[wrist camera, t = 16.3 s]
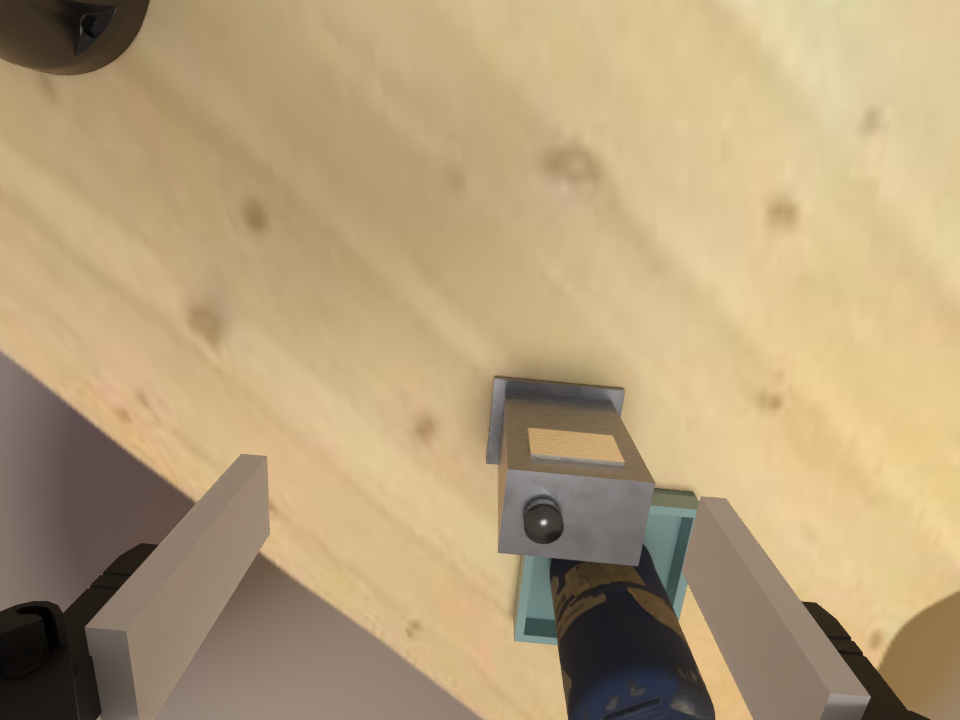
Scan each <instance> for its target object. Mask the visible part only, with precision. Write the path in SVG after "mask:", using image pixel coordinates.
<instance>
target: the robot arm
mask: <svg viewBox="0 0 960 720" xmlns="http://www.w3.org/2000/svg"><path fill="white" fill-rule="evenodd" d="M147 3H148V0H0V58H1V59H3V60H5V61H8V62H10V63H13V64H16V65H19V66H23V67H26V68H30V69H34V70H38V71H41V72H46V73H50V74H57V75H75V74H82V73H87V72H90V71H93V70H96V69H98V68H101V67H103V66H104V65H106V64H108V63H109V62H111V61H112V60H114V59H115V58H116V57H117V56H119V55H120V54H121V53H122V52H123V51H124V50H125V49H126V47H127V46H128V45H129V44H130V42H131V41H132V40H133V38H134V36H135V35H136V33H137V31H138V29H139V27H140V25H141V23H142V20H143V18H144V14H145V11H146V7H147ZM269 534H270V527H269V499H268V471H267V456H259V455H248V454H241V455H240V456H239V457H238V458H237V459H236V460H235V462H234V463H233V464H232V465H231V466H230V467H229V468H228V469H227V470H226V472H225V473H224V474H223V475H222V476H221V477H220V478H219V479H218V480H217V481H216V483H215V484H214V485H213V486H212V487H211V488H210V489H209V490H208V491H207V493H206V494H205V495H204V496H203V497H202V498H201V499H200V500H199V501H198V502H197V504H196V505H195V506H194V507H193V508H192V509H191V510H190V511H189V512H188V514H187V515H186V516H185V517H184V518H183V519H182V520H181V521H180V522H179V523H178V525H177V526H176V527H175V528H174V529H173V530H172V531H171V532H170V533H169V535H168V536H167V537H166V538H165V539H164V540H163V541H162V542H161V543H160V544H159V545H156V544H144V543H141V544H139V545H137V546H136V547H134V548H132V549H131V550H129V551H127V552H125V553H124V554H122V555H120V556H119V557H118V558H117V559H116V560H115V561H114V562H113V563H112V564H111V565H110V566H109V567H108V568H107V569H106V570H105V571H104V572H103V575H100V576H99V578H97V579H96V580H95V581H94V582H93V583H92V584H91V587H90V589H86V590H85V591H84V593H82V594H81V596H80V597H79V598H78V599H77V600H76V601H75V602H74V603H73V604H72V605H71V606H70V607H69V608H68V609H67V610H66V611H65V612H64V613H62V611H61V609H60V608H59V606H58V605H56V604H54V603H51V602H49V601H32V602H28V603H23V604H19V605H15V606H13V607H10V608H8V609H5V610H3V611H1V612H0V720H96V719H97V718H98V717H99V715H100V717H101V720H154V719H155V717H156V716H157V714H158V712H159V711H160V709H161V708H162V706H163V704H164V703H165V701H166V700H167V698H168V696H169V695H170V693H171V692H172V690H173V688H174V687H175V685H176V684H177V682H178V680H179V679H180V677H181V676H182V674H183V672H184V671H185V669H186V667H187V666H188V664H189V663H190V661H191V659H192V658H193V656H194V655H195V653H196V651H197V650H198V648H199V647H200V645H201V643H202V642H203V640H204V638H205V637H206V635H207V634H208V632H209V631H210V629H211V627H212V626H213V624H214V622H215V621H216V619H217V618H218V616H219V614H220V613H221V611H222V609H223V608H224V606H225V605H226V603H227V602H228V600H229V598H230V597H231V595H232V594H233V592H234V590H235V589H236V587H237V585H238V584H239V582H240V581H241V579H242V577H243V576H244V574H245V573H246V571H247V569H248V568H249V566H250V565H251V563H252V561H253V560H254V558H255V557H256V555H257V553H258V552H259V550H260V549H261V547H262V545H263V544H264V542H265V541H266V539H267V537H268V536H269ZM682 573H683V575H684V577H685V579H686V581H687V583H688V585H689V587H690V589H691V591H692V593H693V595H694V598H695V600H696V602H697V604H698V606H699V608H700V610H701V612H702V614H703V616H704V618H705V620H706V622H707V624H708V626H709V629H710V631H711V633H712V635H713V637H714V639H715V641H716V643H717V645H718V647H719V649H720V651H721V653H722V655H723V657H724V660H725V662H726V664H727V666H728V668H729V670H730V672H731V674H732V676H733V678H734V680H735V682H736V684H737V686H738V688H739V691H740V693H741V695H742V697H743V699H744V701H745V703H746V705H747V707H748V709H749V711H750V713H751V715H752V717H753V719H754V720H930V719H928V718H926V717H924V716H922V715H919V714H917V713H915V712H912V711H908V710H907V709H906V708H905V706H904V705H903V704H902V702H901V701H900V700H899V698H898V697H897V696H896V695H895V693H894V692H893V691H892V689H891V688H890V687H889V686H888V684H887V683H886V682H885V681H884V679H883V678H882V677H881V675H880V674H879V673H878V672H877V670H876V669H875V668H874V666H873V665H872V664H871V663H870V661H869V660H868V659H867V657H864V656H863V652H862V651H861V650H860V649H859V647H858V646H857V645H856V643H855V642H854V641H851V637H850V636H849V634H848V633H847V632H846V631H845V629H844V628H843V627H842V626H841V624H840V623H839V622H838V620H837V619H836V618H834V617H833V616H832V615H831V614H829V613H828V612H827V611H826V610H824V609H823V608H822V607H821V606H819V605H818V604H817V603H813V602H802V601H800V599H799V598H798V596H797V595H796V594H795V592H794V591H793V590H792V588H791V587H790V586H789V584H788V583H787V581H786V580H785V579H784V577H783V576H782V575H781V573H780V572H779V570H778V569H777V568H776V566H775V565H774V564H773V562H772V561H771V560H770V558H769V557H768V555H767V554H766V553H765V551H764V550H763V549H762V547H761V546H760V544H759V543H758V542H757V540H756V539H755V538H754V536H753V535H752V534H751V532H750V531H749V529H748V528H747V527H746V525H745V524H744V523H743V521H742V520H741V518H740V517H739V516H738V514H737V513H736V512H735V510H734V509H733V508H732V506H731V505H730V503H729V502H728V501H727V499H725V498H714V497H703V496H701V498H700V502H699V506H698V509H697V513H696V517H695V521H694V525H693V529H692V533H691V537H690V541H689V545H688V548H687V552H686V556H685V560H684V564H683V568H682Z"/></svg>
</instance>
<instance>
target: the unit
mask: <svg viewBox="0 0 960 720" xmlns="http://www.w3.org/2000/svg"><path fill="white" fill-rule="evenodd" d="M624 393H625V390H624V388H616V387H605V386H594V385H584V384H573V383H562V382H552V381H541V380H530V379H519V378H509V377H498V376H495V378H494V388H493V398H492V408H491V418H490V428H489V438H488V448H487V458H486V464H497V465H498V553H506V554H516V555H527V556H537V557H548V558H558V559H568V560H579V561H589V562H600V563H610V564H620V565H631V566H638V565H639V560H640V555H641V550H642V545H643V540H644V536H645V531H646V526H647V521H648V516H649V511H650V506H651V501H652V497H653V492H654V487H655V482H654V480H653V478H652V476H651V474H650V472H649V470H648V469H647V467H646V465H645V463H644V461H643V459H642V457H641V455H640V454H639V452H638V450H637V448H636V446H635V444H634V442H633V440H632V439H631V437H630V435H629V433H628V431H627V429H626V427H625V426H624V424H623V422H622V420H621V418H620V416H621V410H622V405H623V399H624Z"/></svg>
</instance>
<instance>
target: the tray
mask: <svg viewBox="0 0 960 720" xmlns="http://www.w3.org/2000/svg"><path fill="white" fill-rule="evenodd" d="M698 506H699V500H698V499H697V497H696V496H695V494H694V493H693V492H688V491H678V490H667V489H656V488H654V492H653V497H652V501H651V506H650V511H649V516H648V521H647V526H646V531H645V536H644V540H643V545H644V546H645V547H646V548H647V550H648V551H649V553H650V555H651V557H652V560H653V563H654V567H655V569H656V571H657V573H658V575H659V578H660V580H661V582H662V584H663V586H664V588H665V590H666V592H667V595H668V597H669V599H670V602H671V604H672V606H673V609H674V611H675V613H676V616H677V619H678V621H679V617H680V613H681V609H682V605H683V601H684V596H685V592H686V588H687V584H688V583H687V581H686V579H685V577H684V575H683V573H682V568H683V564H684V560H685V556H686V552H687V548H688V545H689V541H690V537H691V533H692V529H693V525H694V521H695V517H696V513H697V509H698ZM551 561H552V558H548V557H537V556H527V555H521V562H520V570H519V577H518V585H517V593H516V601H515V609H514V616H513V620H514V641H520V642H531V643H541V644H551V645H558V643H557V630H556V623H555V615H554V608H553V601H552V593H551V586H550V565H551Z"/></svg>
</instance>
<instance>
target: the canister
mask: <svg viewBox="0 0 960 720" xmlns="http://www.w3.org/2000/svg"><path fill="white" fill-rule="evenodd" d="M550 586H551V593H552V601H553V608H554V615H555V623H556V630H557V643H558V651H559V658H560V664H561V673H562V679H563V687H564V693H565V700H566V707H567V714H568V720H715V711H714V707H713V703H712V701H711V698H710V696H709V693H708V691H707V689H706V686H705V683H704V681H703V679H702V676H701V674H700V672H699V669H698V667H697V665H696V662H695V660H694V658H693V655H692V653H691V650H690V648H689V646H688V643H687V641H686V639H685V636H684V634H683V632H682V629H681V627H680V625H679V622H678V619H677V616H676V613H675V611H674V609H673V606H672V604H671V602H670V599H669V597H668V595H667V592H666V590H665V588H664V586H663V584H662V582H661V580H660V578H659V575H658V573H657V571H656V569H655V567H654V563H653V560H652V557H651V555H650V553H649V551H648V550H647V548H646V547H645V546H644V545H642V550H641V555H640V560H639V565H638V566H631V565H620V564H610V563H600V562H589V561H579V560H568V559H558V558H552V561H551V565H550Z"/></svg>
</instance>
